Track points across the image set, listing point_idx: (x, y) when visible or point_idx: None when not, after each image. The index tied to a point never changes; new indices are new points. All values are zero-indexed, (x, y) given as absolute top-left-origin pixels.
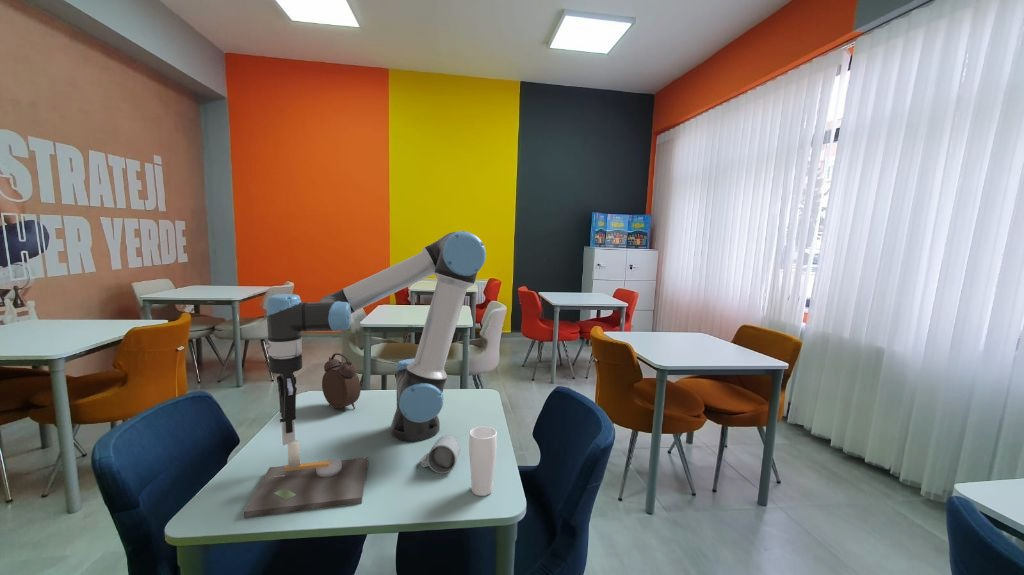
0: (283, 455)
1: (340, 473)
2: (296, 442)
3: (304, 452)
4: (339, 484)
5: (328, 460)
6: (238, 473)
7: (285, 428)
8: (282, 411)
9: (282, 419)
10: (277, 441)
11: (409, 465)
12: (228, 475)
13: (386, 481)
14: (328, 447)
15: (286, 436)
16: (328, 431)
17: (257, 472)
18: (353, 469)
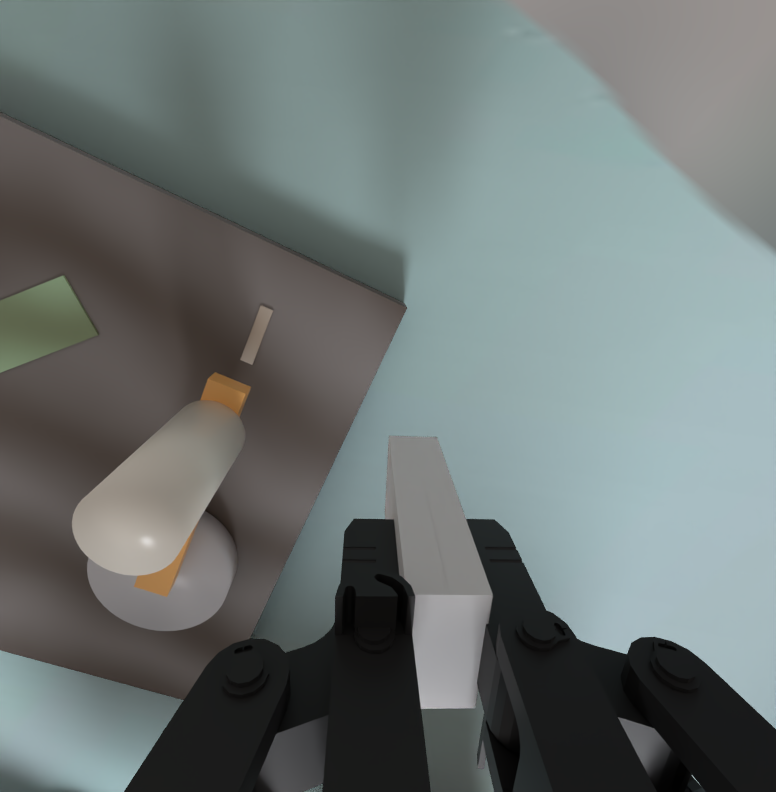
0: (561, 399)
1: None
2: (125, 552)
3: (516, 492)
4: (10, 562)
5: (216, 586)
6: (520, 137)
7: (398, 544)
8: (527, 730)
9: (374, 625)
10: (761, 402)
11: (113, 783)
12: (537, 73)
13: (24, 695)
14: None
15: (391, 496)
16: (660, 625)
17: (456, 242)
18: (130, 639)
